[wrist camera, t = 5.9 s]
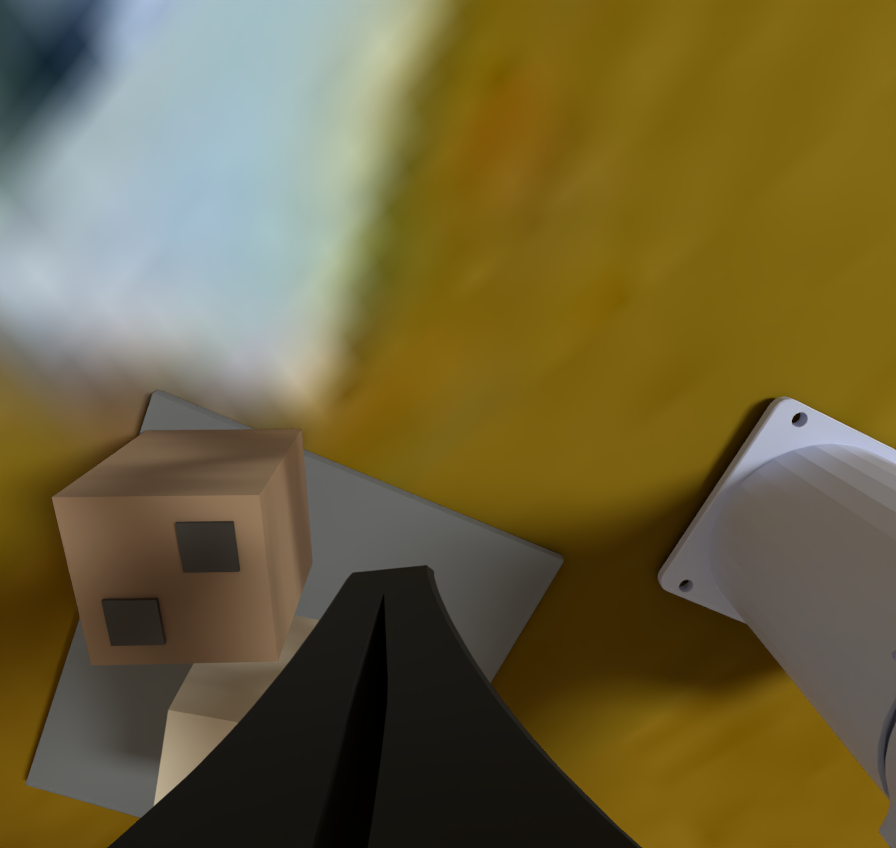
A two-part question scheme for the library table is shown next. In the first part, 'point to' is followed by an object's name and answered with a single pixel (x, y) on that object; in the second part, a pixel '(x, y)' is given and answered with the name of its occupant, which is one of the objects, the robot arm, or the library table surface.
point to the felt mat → (334, 559)
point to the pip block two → (189, 546)
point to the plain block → (216, 706)
